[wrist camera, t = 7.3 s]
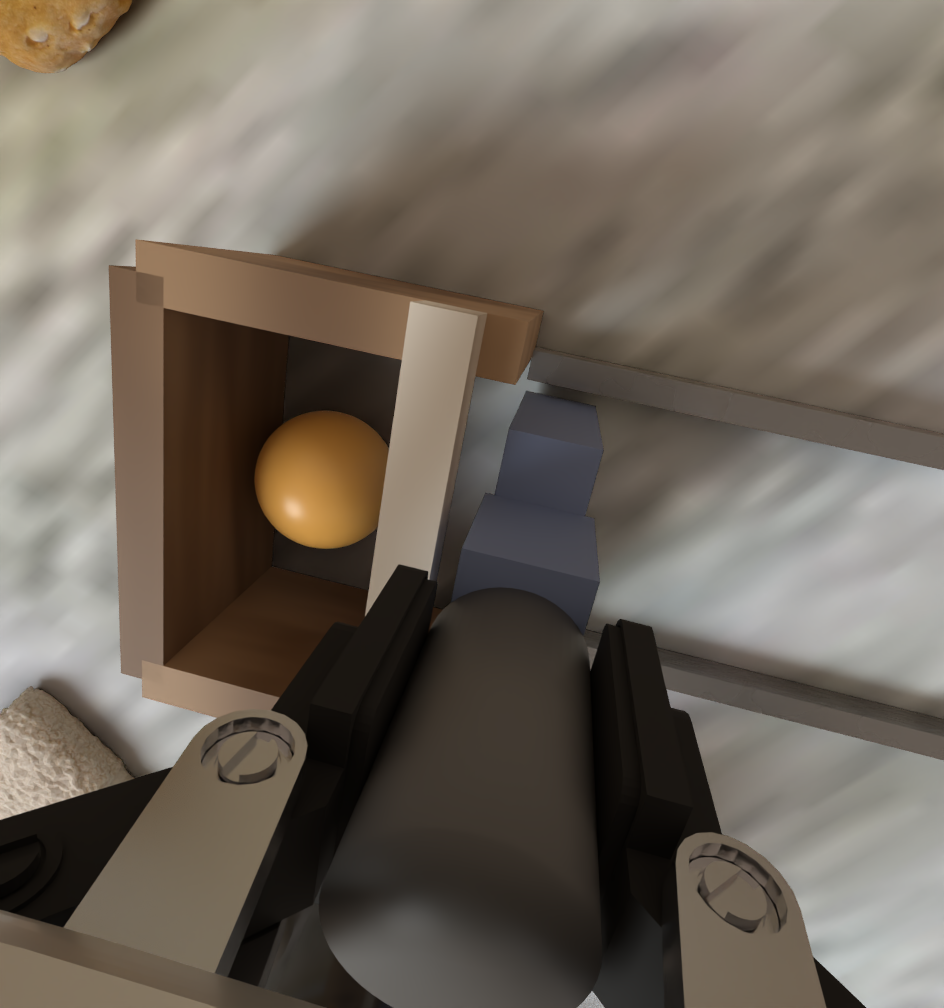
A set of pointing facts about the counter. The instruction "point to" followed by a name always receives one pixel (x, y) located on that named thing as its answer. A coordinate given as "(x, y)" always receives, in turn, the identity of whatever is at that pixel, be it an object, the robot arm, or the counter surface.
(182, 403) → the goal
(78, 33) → the bagel
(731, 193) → the counter surface
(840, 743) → the counter surface
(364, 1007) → the pump dispenser
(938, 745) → the track
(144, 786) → the robot arm
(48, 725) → the washcloth
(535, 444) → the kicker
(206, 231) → the counter surface
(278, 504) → the ball
